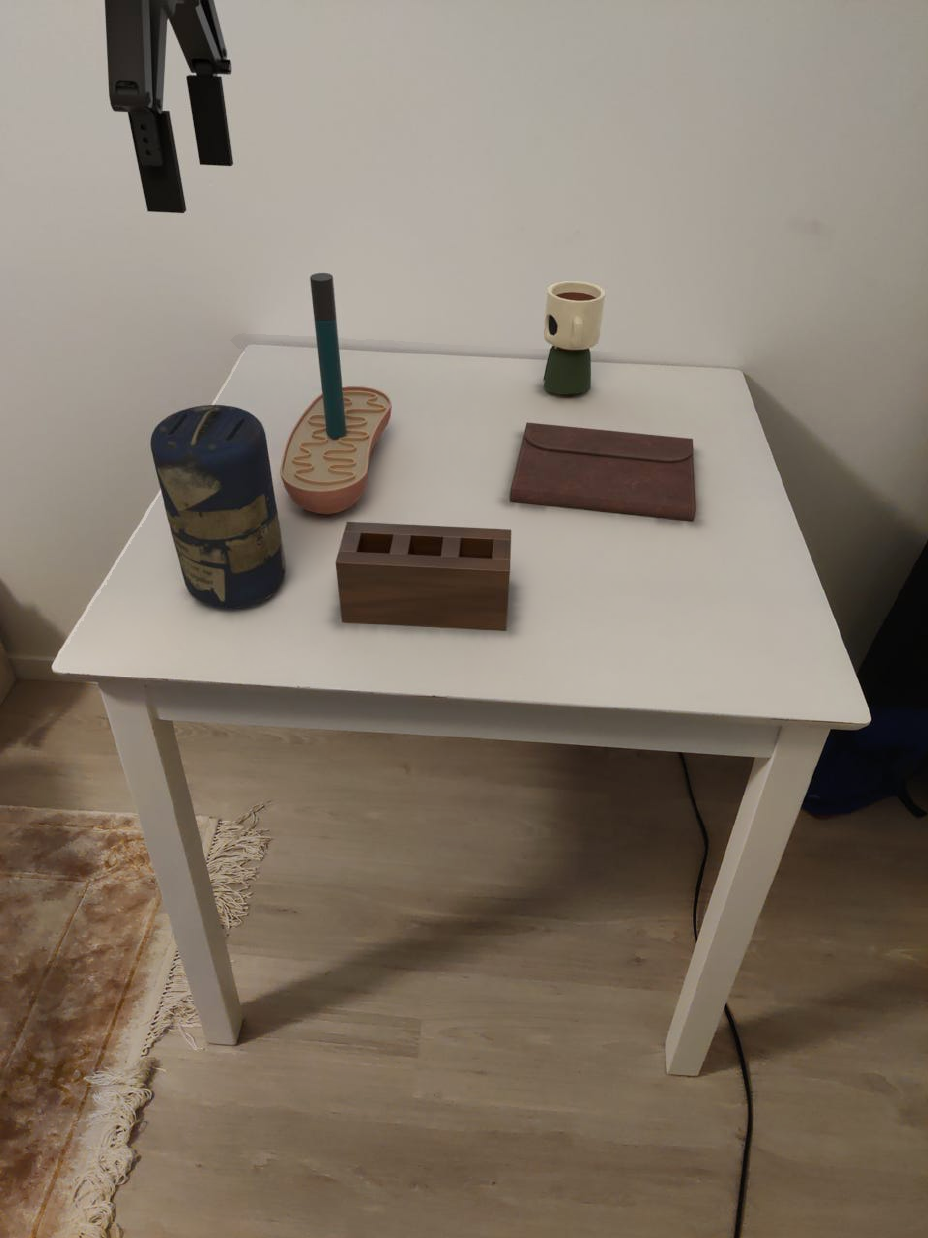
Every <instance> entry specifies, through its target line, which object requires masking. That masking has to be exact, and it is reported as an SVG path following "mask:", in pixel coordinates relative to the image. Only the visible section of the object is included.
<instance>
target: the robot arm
mask: <svg viewBox="0 0 928 1238" xmlns="http://www.w3.org/2000/svg"><path fill="white" fill-rule="evenodd" d="M104 13H105V36H106V55H107V57H106V59H107V78H108V79H107V80H108V97H109V102H110V106H111V109H112V111H113V112H115V113H127V116H128V123H129V127H130V131H131V135H132V141H133V146H134V151H135V157H136V161H137V166H138V167H137V168H138V172H139V177H140V183H141V187H142V191H143V196H144V202H145V207H146V212H148V213H149V212H151V213H171V214H184V213H185V212H186V211H187V205H186V200H185V194H184V188H183V182H182V177H181V171H180V165H179V159H178V153H177V146H176V143H175V142H176V141H175V135H174V129H173V123H172V118H171V117H172V116H171V112H170V110H163V109H164V90H165V74H166V73H165V72H166V54H167V53H166V52H167V36H168V35H167V34H168V33H167V32H168V21H169V23H170V25H171V28H172V30H173V33H174V35H175V37H176V40H177V42H178V45H179V47H180V50H181V52H182V55H183V57H184V59H185V61H186V64H187V66H188V69H189V71H190V73H191V74H188V75H186V76H185V77H186V78H185V79H186V84H187V90H188V98H189V103H190V111H191V116H192V123H193V129H194V136H195V142H196V148H197V155H198V161H199V165H200V166H219V167H232V166H233V165H234V160H233V152H232V145H231V138H230V129H229V123H228V122H229V121H228V115H227V108H226V101H225V92H224V91H225V90H224V85H223V78H222V76H220V75H224V76H225V75H227V76H228V75H229V76H230V75H231V74H232V61H231V59H228V50H227V46H226V43H225V39H224V35H223V31H222V27H221V23H220V20H219V16H218V11H217V8H216V4H215V0H104ZM218 75H219V76H218Z"/></svg>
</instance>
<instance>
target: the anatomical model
mask: <svg viewBox="0 0 928 1238" xmlns="http://www.w3.org/2000/svg"><path fill="white" fill-rule="evenodd" d="M342 387H343V398H344V410H345V421H346V434H345V435H344V436H342V437H339V438H333V437H329V436H328V435H327V434H326V425H325V416H324V406H323V397H322V393H320V394H319V395H318V396H317V397H316V398H314V399H313V401H311V403H310V404H309V406H307V408H306V409H305V410H304V411H303V412H302V414H301V415H300V417H299V418H298V420H297V421H296V422H295V424H294V425H293V428H292V429H291V431H290V433H289V435H288V438H287V440H286V444H285V446H284V449H283V454H282V458H281V463H280V468H279V472H280V473H279V474H280V477H281V481H282V484H283V488H284V489H285V491H286V492H287V494H288V496H289V497H290V498H291V500H292V501H293V502H294V503H296V504H297V505H298V506H299V507H301V508H303V509H305V510H307V511H308V512H312V513H315V514H321V515H332V514H337V513H340V512H343V511H345V510H347V509H348V508H350V507H352V506H353V505H354V504H356V502H357V501H358V500H359V499H360V497H362V495H363V493H364V491H365V489H366V486H367V482H368V475H369V464H370V458H371V454H372V452H373V449H374V447H375V444H376V443H377V442H378V440H379V439H380V437H381V436H382V434H383V433H384V431H385V430H386V428H387V426H388V425H389V422H390V419H391V416H392V400H391V398H390V397H389V395H388V394H386V393H385V392H383V391H381V390H378V389H376V388H374V387H369V386H363V385H346V386H342Z"/></svg>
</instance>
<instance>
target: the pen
mask: <svg viewBox="0 0 928 1238" xmlns="http://www.w3.org/2000/svg"><path fill="white" fill-rule="evenodd" d="M309 281H310V290H311V301H312V309H313V310H312V311H313V318H314V320H313V321H314V328H315V338H316V349H317V357H318V366H319V367H318V368H319V376H320V377H319V378H320V386H321V387H320V388H321V394H322V397H323V406H324V416H325V425H326V434H327V435H328V436H329V437H333V438H339V437H342V436H344V435H345V434H346V421H345V410H344V398H343V387H344V386H343V377H342V367H341V366H342V365H341V354H340V353H341V352H340V342H339V330H338V320H337V308H336V295H335V286H334V285H335V284H334V276H333V275H332V274H331V273H329V272H328V273H327V272H317V273H314V274H311V275H310V277H309Z"/></svg>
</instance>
